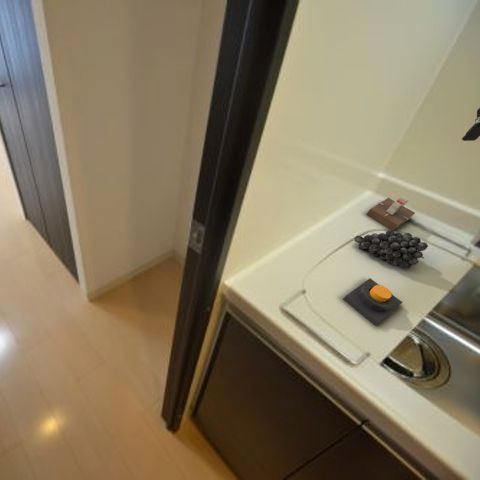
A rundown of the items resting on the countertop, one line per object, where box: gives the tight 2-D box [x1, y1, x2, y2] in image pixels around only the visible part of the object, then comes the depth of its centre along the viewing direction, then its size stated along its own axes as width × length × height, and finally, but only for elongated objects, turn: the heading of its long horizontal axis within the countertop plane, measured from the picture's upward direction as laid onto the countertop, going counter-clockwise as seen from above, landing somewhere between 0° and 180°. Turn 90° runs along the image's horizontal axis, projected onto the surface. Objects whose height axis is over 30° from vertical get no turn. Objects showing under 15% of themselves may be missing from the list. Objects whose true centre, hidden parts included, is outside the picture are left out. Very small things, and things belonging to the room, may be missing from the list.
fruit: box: [353, 229, 429, 269], centre depth 85 cm, size 9×8×15 cm
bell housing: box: [342, 277, 403, 326], centre depth 76 cm, size 10×8×4 cm
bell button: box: [369, 284, 393, 302], centre depth 74 cm, size 4×4×2 cm
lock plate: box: [365, 197, 416, 231], centre depth 96 cm, size 10×9×3 cm
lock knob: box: [386, 196, 410, 215], centre depth 94 cm, size 4×2×4 cm, turn 123°
